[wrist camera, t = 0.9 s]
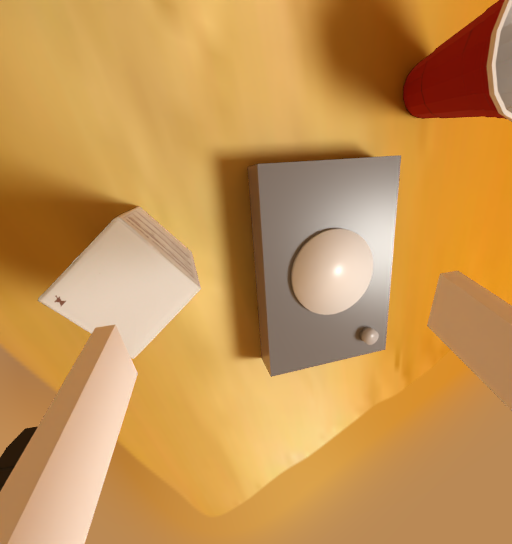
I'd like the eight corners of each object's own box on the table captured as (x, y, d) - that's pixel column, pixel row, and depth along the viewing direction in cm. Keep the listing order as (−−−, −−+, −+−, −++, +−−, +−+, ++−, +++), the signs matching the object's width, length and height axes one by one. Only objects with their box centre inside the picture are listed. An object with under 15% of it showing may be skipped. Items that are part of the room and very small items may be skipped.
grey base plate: (247, 166, 30) (260, 163, 26) (376, 158, 34) (408, 154, 29) (261, 357, 38) (273, 381, 33) (366, 334, 41) (390, 353, 37)
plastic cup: (430, 159, 36) (543, 146, 25) (368, 111, 32) (469, 72, 21) (476, 74, 34) (619, 20, 23) (417, 13, 31) (554, -85, 19)
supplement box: (148, 298, 32) (131, 364, 20) (89, 254, 29) (30, 300, 17) (194, 251, 32) (204, 290, 20) (139, 202, 29) (114, 213, 17)
